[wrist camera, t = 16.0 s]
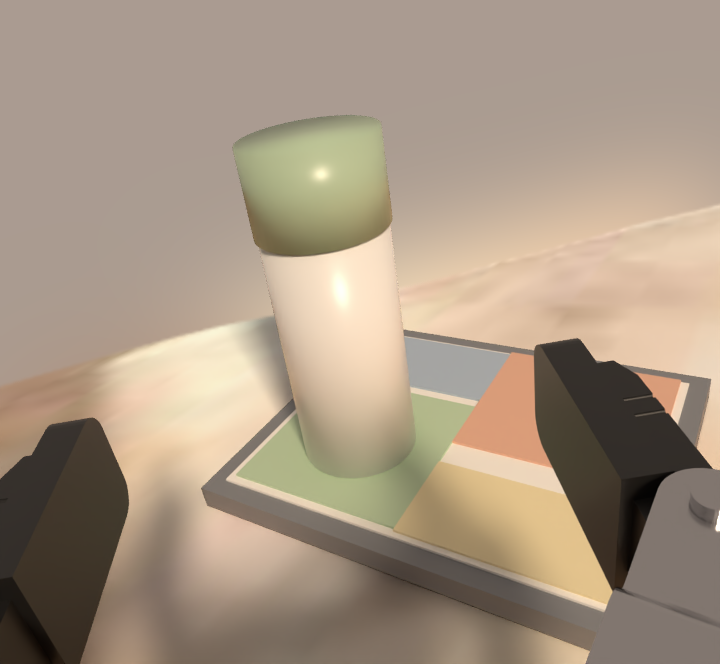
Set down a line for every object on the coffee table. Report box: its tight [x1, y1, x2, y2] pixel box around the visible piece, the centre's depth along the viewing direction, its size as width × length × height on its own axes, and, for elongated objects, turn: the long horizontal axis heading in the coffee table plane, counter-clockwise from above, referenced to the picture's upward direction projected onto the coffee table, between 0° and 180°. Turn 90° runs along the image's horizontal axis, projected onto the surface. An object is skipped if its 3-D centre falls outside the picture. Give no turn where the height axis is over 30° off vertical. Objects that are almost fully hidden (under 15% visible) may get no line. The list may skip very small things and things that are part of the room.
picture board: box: [201, 330, 711, 651], centre depth 26 cm, size 16×13×1 cm
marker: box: [233, 115, 416, 478], centre depth 23 cm, size 5×5×12 cm
